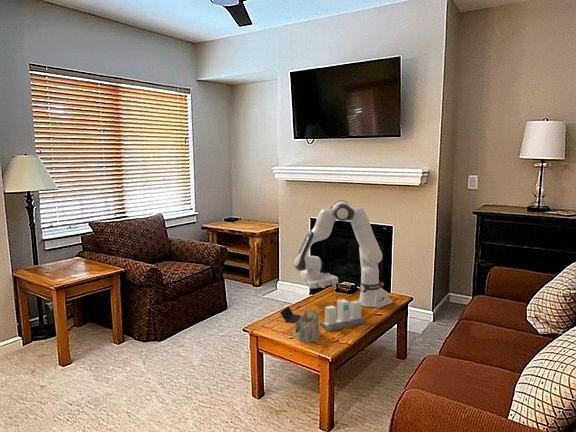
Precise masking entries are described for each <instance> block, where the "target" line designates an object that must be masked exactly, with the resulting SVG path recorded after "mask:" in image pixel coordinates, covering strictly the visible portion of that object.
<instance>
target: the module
mask: <svg viewBox="0 0 576 432" xmlns="http://www.w3.org/2000/svg"><path fill="white" fill-rule="evenodd" d="M349 316H350V301H348V300H347V299H344V298H342V299H337V301H336V319H338V320H340V321H342V322H345V321H349Z"/></svg>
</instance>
